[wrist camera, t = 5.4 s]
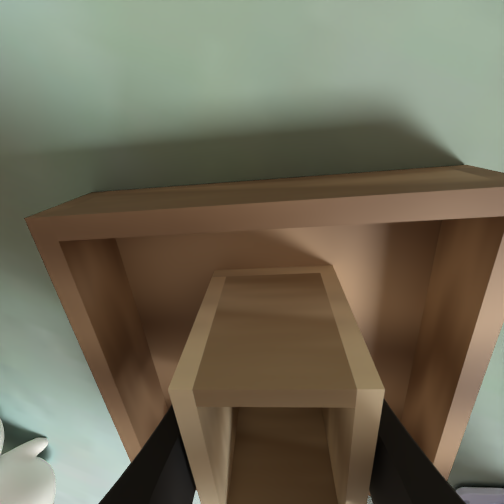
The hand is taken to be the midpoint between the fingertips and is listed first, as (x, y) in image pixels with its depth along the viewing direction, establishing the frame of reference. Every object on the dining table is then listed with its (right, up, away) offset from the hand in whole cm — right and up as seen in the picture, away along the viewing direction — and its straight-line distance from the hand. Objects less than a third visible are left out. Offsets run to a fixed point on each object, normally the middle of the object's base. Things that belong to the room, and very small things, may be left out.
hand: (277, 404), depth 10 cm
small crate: (0, +2, +3) cm, 4 cm away
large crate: (0, +2, +4) cm, 4 cm away
